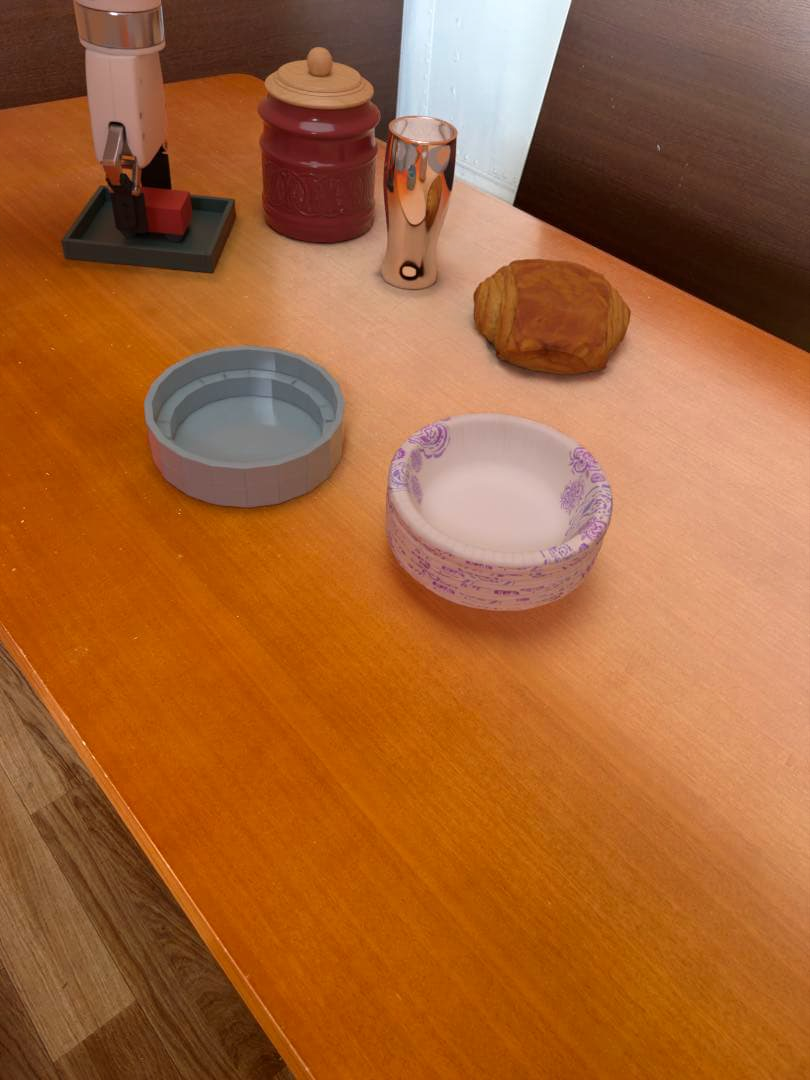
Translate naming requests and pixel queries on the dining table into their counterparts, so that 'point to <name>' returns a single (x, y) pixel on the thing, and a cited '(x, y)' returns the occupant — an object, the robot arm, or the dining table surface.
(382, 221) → the dining table surface
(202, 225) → the tray
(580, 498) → the paper bowls
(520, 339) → the croissant
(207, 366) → the bowl
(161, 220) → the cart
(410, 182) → the beer glass
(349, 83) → the kitchen canister
